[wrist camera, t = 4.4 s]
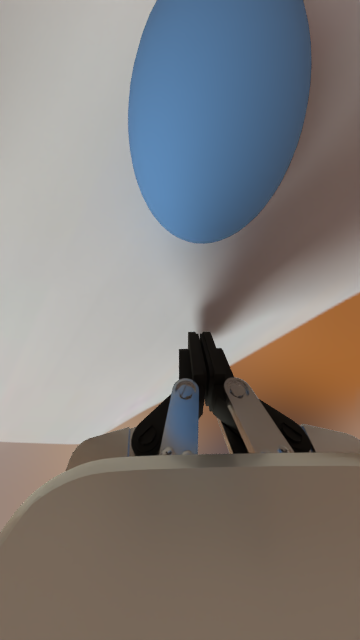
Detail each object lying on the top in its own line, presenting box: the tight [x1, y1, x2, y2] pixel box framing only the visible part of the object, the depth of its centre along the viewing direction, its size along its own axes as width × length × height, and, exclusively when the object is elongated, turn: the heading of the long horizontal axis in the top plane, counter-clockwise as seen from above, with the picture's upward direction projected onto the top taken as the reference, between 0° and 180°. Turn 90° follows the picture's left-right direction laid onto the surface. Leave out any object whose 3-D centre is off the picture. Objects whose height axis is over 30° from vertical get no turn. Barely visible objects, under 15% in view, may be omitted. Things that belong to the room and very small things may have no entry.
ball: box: [128, 0, 311, 244], centre depth 5 cm, size 6×6×6 cm
